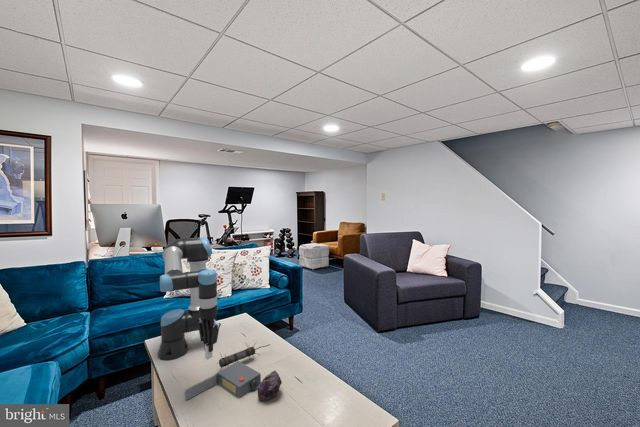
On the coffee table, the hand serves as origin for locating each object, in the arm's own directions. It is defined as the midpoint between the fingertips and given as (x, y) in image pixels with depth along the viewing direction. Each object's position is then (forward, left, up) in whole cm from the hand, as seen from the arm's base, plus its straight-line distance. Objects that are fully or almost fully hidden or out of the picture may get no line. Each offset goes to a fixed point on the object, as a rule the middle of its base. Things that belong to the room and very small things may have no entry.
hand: (208, 357), depth 123 cm
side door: (-4, -1, -16) cm, 17 cm away
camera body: (+4, +12, -17) cm, 21 cm away
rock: (+22, +16, -17) cm, 32 cm away
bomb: (-8, +25, -17) cm, 31 cm away
